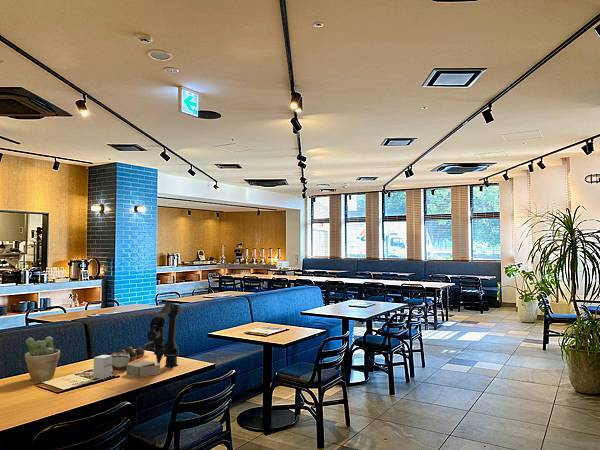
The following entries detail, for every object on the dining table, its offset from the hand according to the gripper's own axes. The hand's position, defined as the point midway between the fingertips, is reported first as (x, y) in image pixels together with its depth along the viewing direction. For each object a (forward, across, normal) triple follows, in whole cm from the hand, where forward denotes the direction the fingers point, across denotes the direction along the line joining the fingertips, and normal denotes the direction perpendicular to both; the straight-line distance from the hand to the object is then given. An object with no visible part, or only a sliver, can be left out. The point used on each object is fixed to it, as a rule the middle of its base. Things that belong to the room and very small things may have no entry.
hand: (158, 362), depth 274 cm
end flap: (+7, 0, -5) cm, 9 cm away
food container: (+8, -22, -20) cm, 31 cm away
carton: (+8, -8, -10) cm, 15 cm away
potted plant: (+8, -20, -64) cm, 68 cm away
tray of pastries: (+9, -43, -17) cm, 47 cm away
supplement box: (+8, -8, -31) cm, 33 cm away
